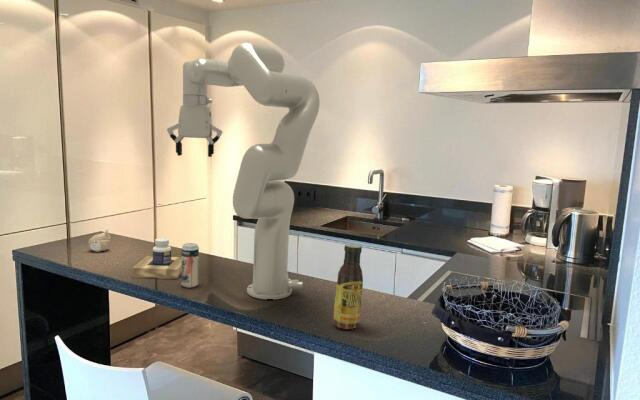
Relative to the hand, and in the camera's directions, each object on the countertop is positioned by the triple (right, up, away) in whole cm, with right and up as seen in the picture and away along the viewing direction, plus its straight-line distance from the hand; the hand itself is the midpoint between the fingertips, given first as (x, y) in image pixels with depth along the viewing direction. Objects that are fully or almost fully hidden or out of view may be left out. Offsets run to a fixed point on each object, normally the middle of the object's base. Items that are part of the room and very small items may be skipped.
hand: (194, 156), depth 152 cm
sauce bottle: (+47, -45, -39) cm, 75 cm away
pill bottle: (-9, -36, -6) cm, 38 cm away
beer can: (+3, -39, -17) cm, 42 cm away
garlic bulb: (-37, -32, +13) cm, 51 cm away
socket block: (-9, -36, -6) cm, 38 cm away
